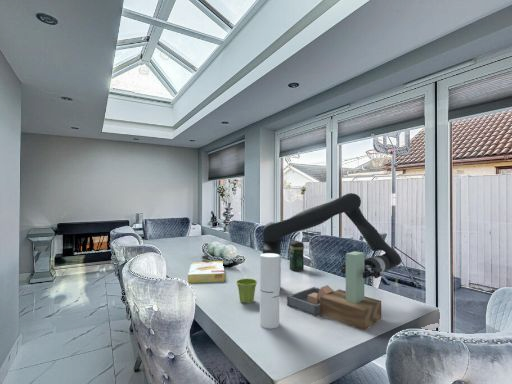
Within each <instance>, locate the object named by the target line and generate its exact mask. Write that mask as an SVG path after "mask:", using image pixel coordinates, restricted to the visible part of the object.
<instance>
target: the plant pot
mask: <svg viewBox="0 0 512 384" xmlns="http://www.w3.org/2000/svg"><path fill="white" fill-rule="evenodd" d="M235 283H236V285H237V290H238V295H239V302H240V303H242V304H243V303H244V304H251V303H253V302H254V300H255V292H256V287H257V284H258V280H256V279H253V278H241V279H237V280H236V281H235Z"/></svg>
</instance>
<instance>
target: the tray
mask: <svg viewBox="0 0 512 384" xmlns="http://www.w3.org/2000/svg"><path fill="white" fill-rule="evenodd" d="M319 290H320V288H318V287H315V286H312V287H310V288H309V287H308V288H306V289H304V290H301V291H298V292H295V293H293V294H290V295H287V297H286V299H287V300H286V301H287V303H286V306H288V307H290V308H292V309H295V310H297V311H300V312H303V313H306V314H309V315H311V316H314V317H319V316H321V315H320V303H319V304H317V305H315V304H312V303H309V302H307V297H308V295H309V294H312V293H318V292H319Z"/></svg>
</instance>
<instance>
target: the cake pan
mask: <svg viewBox="0 0 512 384" xmlns="http://www.w3.org/2000/svg"><path fill="white" fill-rule="evenodd" d="M200 259H201V262H213V261H211V260H209V259H208V256H207V254H204V255H201V256H200Z"/></svg>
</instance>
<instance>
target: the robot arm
mask: <svg viewBox="0 0 512 384" xmlns="http://www.w3.org/2000/svg"><path fill="white" fill-rule="evenodd" d="M361 204H362V199H361V197H360V196H359V195H358V194H356V193H352V192H351V193H350V192H349V193H346V194H344V195H341V196H339V197H338V198H335V199H333V200H331V201H329V202H325V203H323V204H320V205H316V206H313V207H310V208H308V209H304V210H303V211H301V212H298V213H296V214H295V215H292V216H291V217H289V218H287V219H284V220H281V221H278V222H277V221H276V222H271V221H270V222H268V223H266V224H265V225H264V227H263V229H262V254H265V253H274V254H279V255H280V288H281V286H282V285H281V279H282V278H281V277H282V276H281V275H282V274H281V271H282V269H281V268H282V266H281V263H282V260H281V259H282V257H281V255H282V252H281V251H282V249H281V248H282V246H281V245H282V241H281V239H282V238H284V237H286V236H288V235H291V234H294V233H298V232H301V231H305V230H308V229H311V228H314V227H316V226H319V225H321V224H323V223H326V221H329V220H330V219H331V218H333V217H335V216H337V215H340V214H343V213H344V214H345V215H346V216H347V217H348V219H349V220H351V222H352V224H353V225H355V227H356V228H357V230H358V231H359V232H360V234H361V236H362V237H363V238H364V240H365V241H366V243H367V245H368V246H369V248H370V250H371V251H373V252H378V251H382V252H384V253H383V254H379V255H376V256H369V257H367V258H364V272H363V278H364V279H368V278H370V279H371V278H375V279H378V278H380V277H382V276H383V273H384V272H385V273H386V272H388V271H390V270H391V269H394V268H396V267H397V266H399V265H400V264H402V258H401V255H400V254H399V253H398V252H397V251H396V250H395V249H393V248H392V247H391V246H390V245H389V244H388V243H387V242H386V241H385V240H384V238H383V237H382V236H381V234H380V233H379V231H378V230H377V229H376V227H374V226H373V225H372V224H371V223H370V222H369V221H368V220H367V219H366V217H365V216H364V214H363V212H362V210H361V208H360V207H361ZM341 274H343V275H346V263H343V264H342V268H341Z"/></svg>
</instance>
